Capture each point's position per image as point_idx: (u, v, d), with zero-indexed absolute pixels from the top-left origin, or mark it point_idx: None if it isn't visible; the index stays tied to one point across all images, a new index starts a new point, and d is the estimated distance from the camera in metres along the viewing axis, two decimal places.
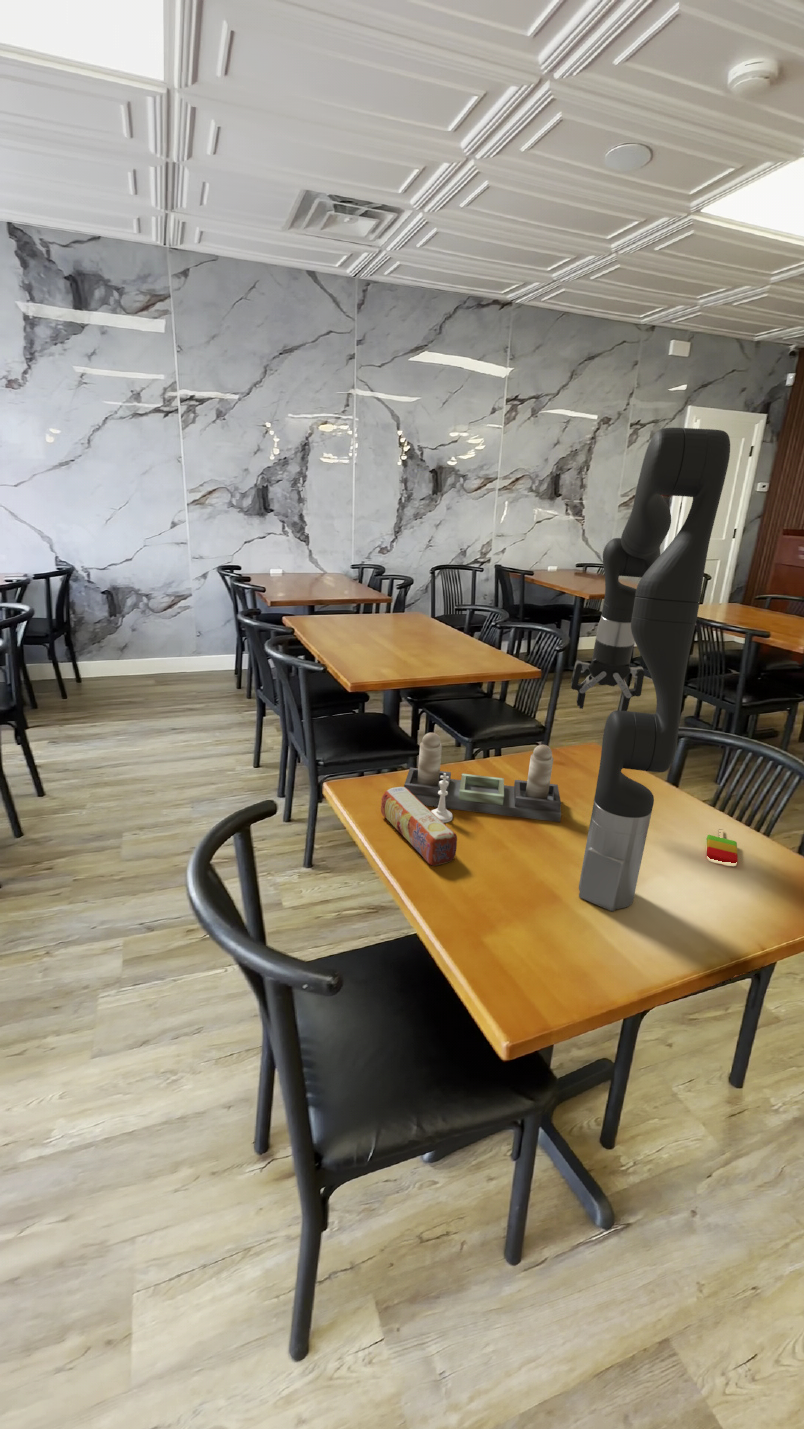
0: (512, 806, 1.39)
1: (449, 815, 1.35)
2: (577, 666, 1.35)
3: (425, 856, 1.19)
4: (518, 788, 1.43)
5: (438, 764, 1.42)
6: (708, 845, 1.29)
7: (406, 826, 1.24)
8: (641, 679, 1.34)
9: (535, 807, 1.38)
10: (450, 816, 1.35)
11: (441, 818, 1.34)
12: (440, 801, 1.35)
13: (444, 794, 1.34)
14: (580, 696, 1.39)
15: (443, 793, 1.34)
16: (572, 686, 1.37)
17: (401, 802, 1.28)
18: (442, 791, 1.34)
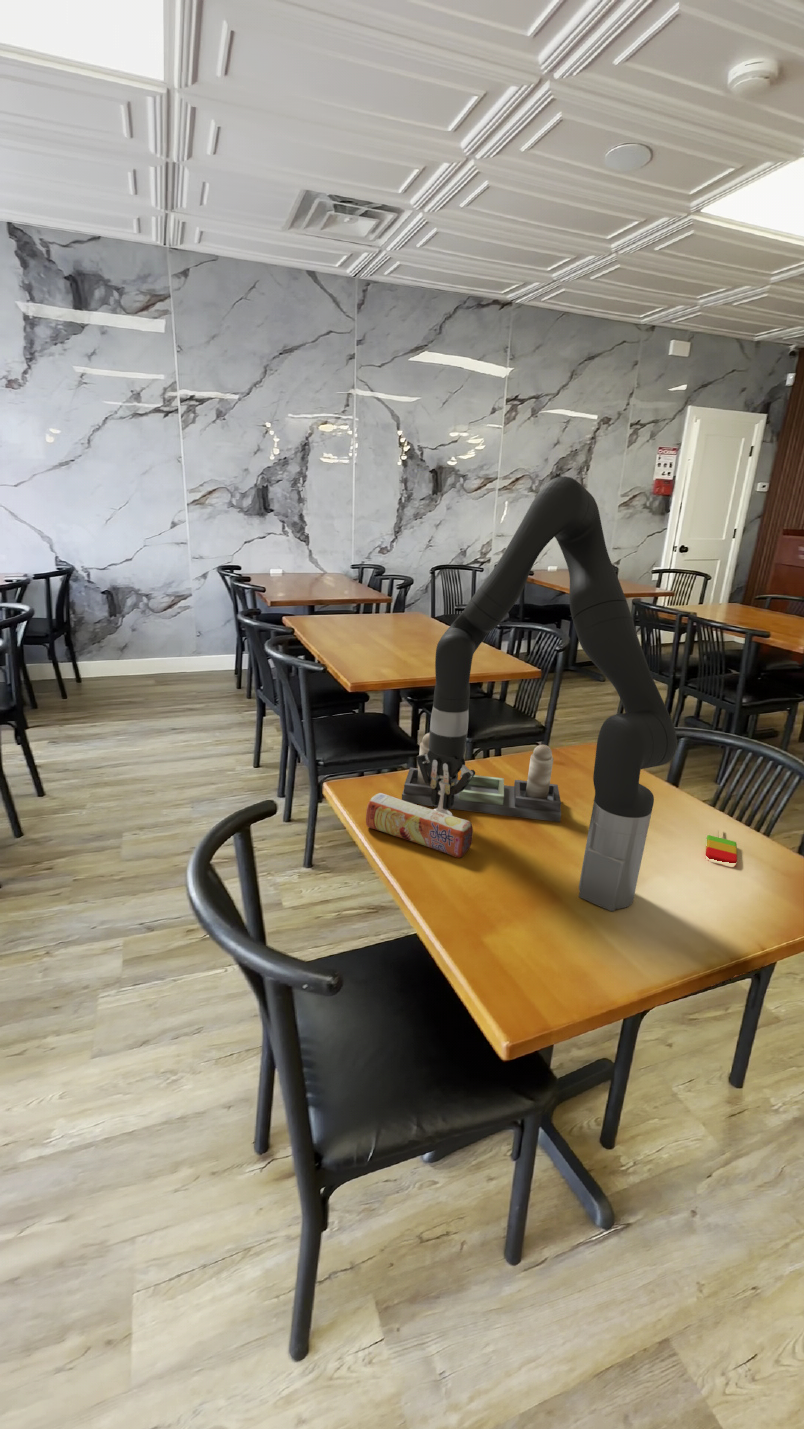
0: (512, 806, 1.39)
1: None
2: None
3: (453, 851, 1.21)
4: (518, 788, 1.43)
5: None
6: (708, 845, 1.29)
7: (416, 829, 1.24)
8: None
9: (535, 807, 1.38)
10: None
11: None
12: (440, 801, 1.35)
13: None
14: None
15: (443, 793, 1.34)
16: None
17: (397, 808, 1.26)
18: (442, 791, 1.34)
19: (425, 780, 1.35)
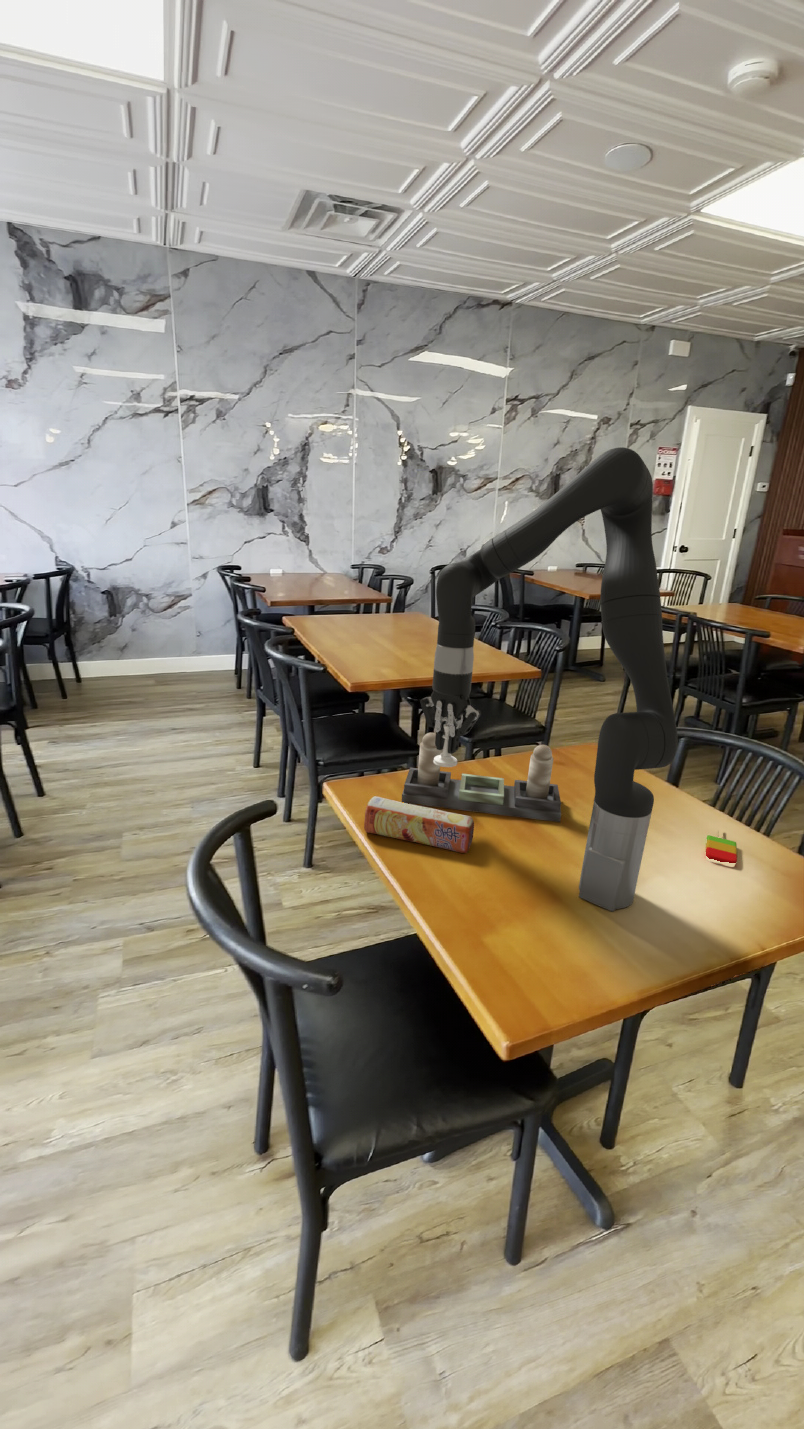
0: (512, 806, 1.39)
1: (454, 760, 1.31)
2: None
3: (459, 847, 1.22)
4: (518, 788, 1.43)
5: None
6: (708, 845, 1.29)
7: (420, 829, 1.24)
8: None
9: (535, 807, 1.38)
10: (455, 761, 1.31)
11: (446, 762, 1.30)
12: (445, 745, 1.30)
13: None
14: None
15: (448, 736, 1.29)
16: None
17: (398, 810, 1.25)
18: (447, 734, 1.30)
19: (429, 724, 1.31)
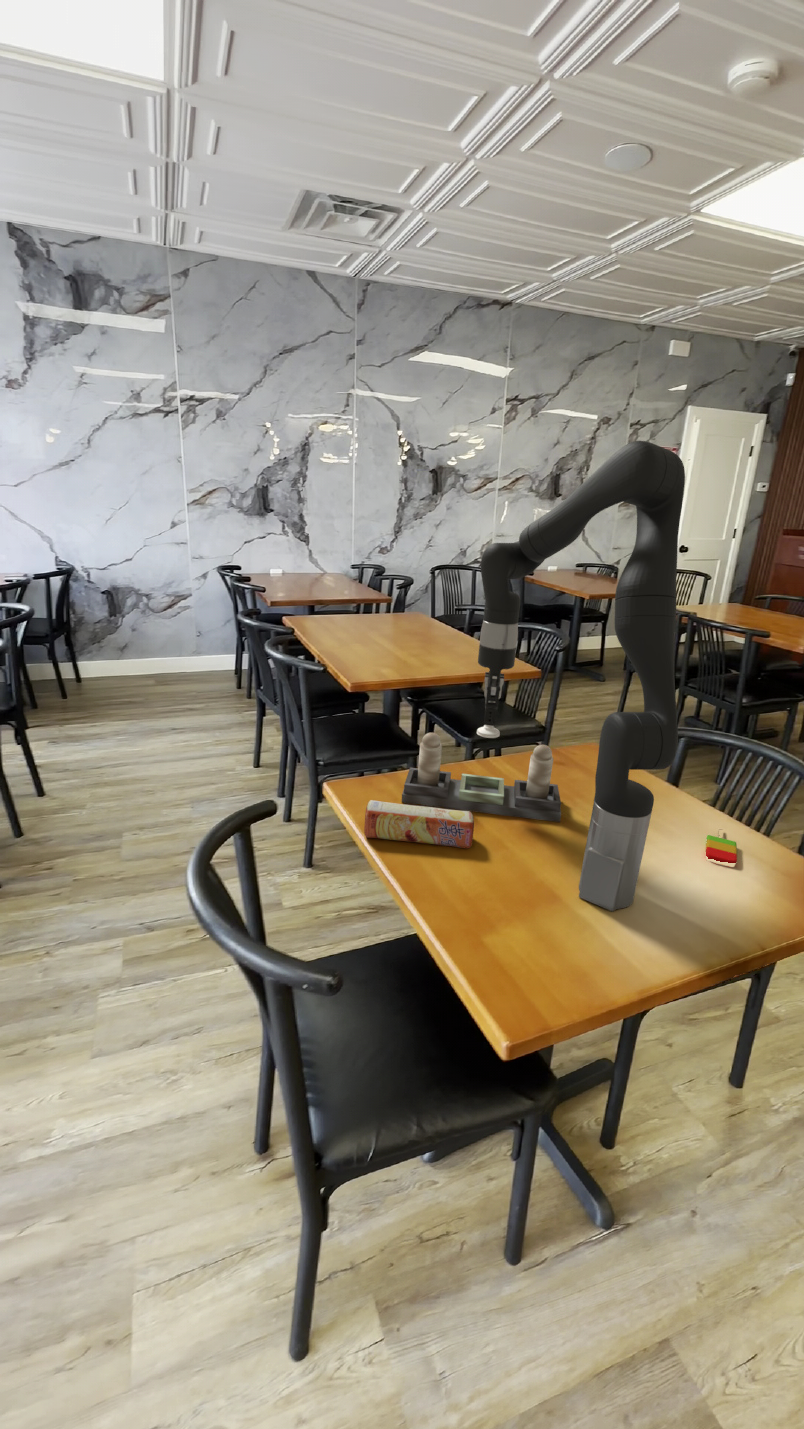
0: (512, 806, 1.39)
1: (490, 732, 1.37)
2: (499, 690, 1.30)
3: (464, 843, 1.24)
4: (518, 788, 1.43)
5: (438, 764, 1.42)
6: (708, 845, 1.29)
7: (423, 829, 1.24)
8: None
9: (535, 807, 1.38)
10: (490, 733, 1.37)
11: (480, 731, 1.38)
12: None
13: None
14: (494, 713, 1.36)
15: None
16: (497, 707, 1.33)
17: (399, 812, 1.25)
18: None
19: None
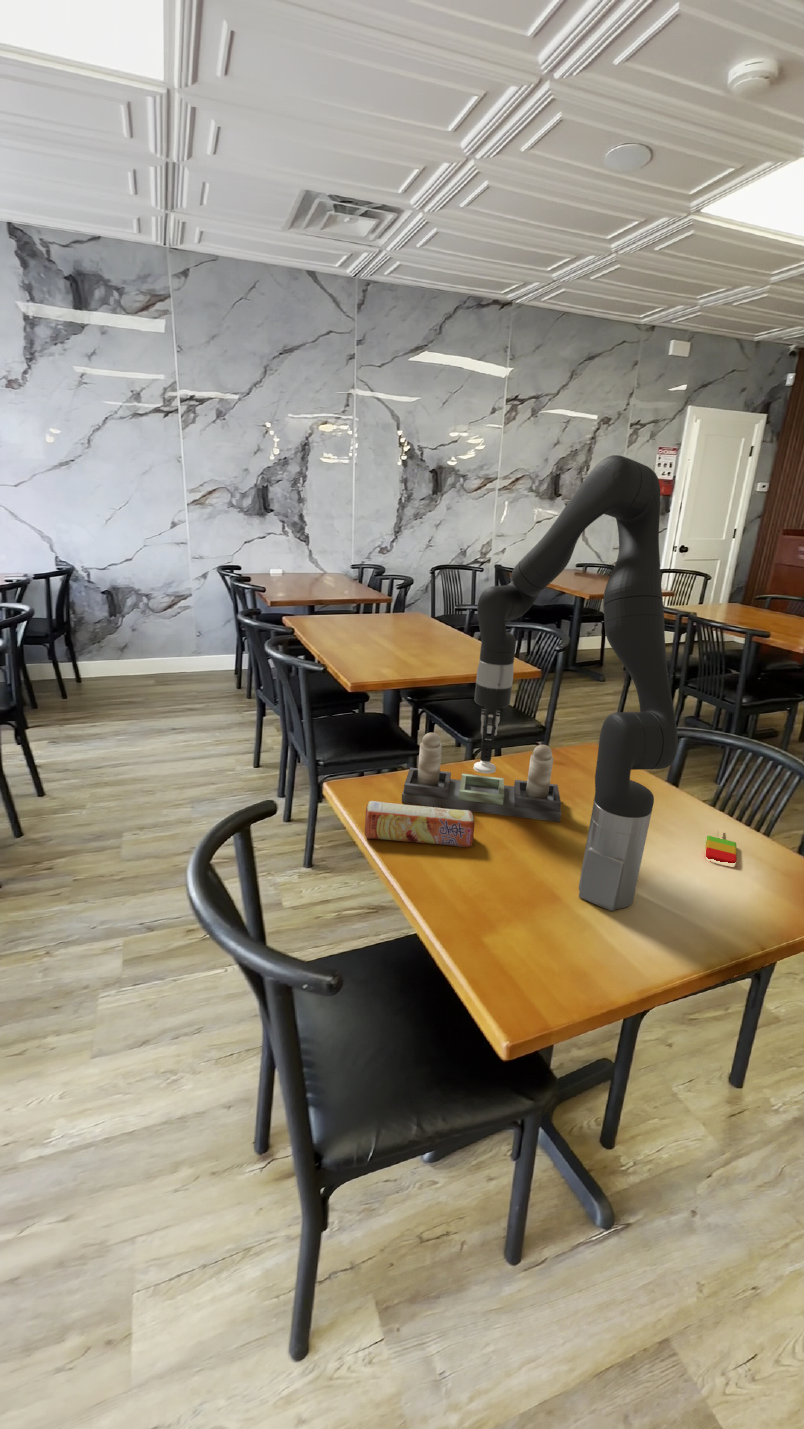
0: (512, 806, 1.39)
1: (486, 768, 1.40)
2: (495, 729, 1.32)
3: (464, 842, 1.24)
4: (518, 788, 1.43)
5: (438, 764, 1.42)
6: (707, 845, 1.29)
7: (424, 829, 1.24)
8: None
9: (535, 807, 1.38)
10: (486, 769, 1.40)
11: (476, 767, 1.41)
12: None
13: None
14: (490, 749, 1.39)
15: None
16: (493, 744, 1.36)
17: (399, 812, 1.24)
18: None
19: None
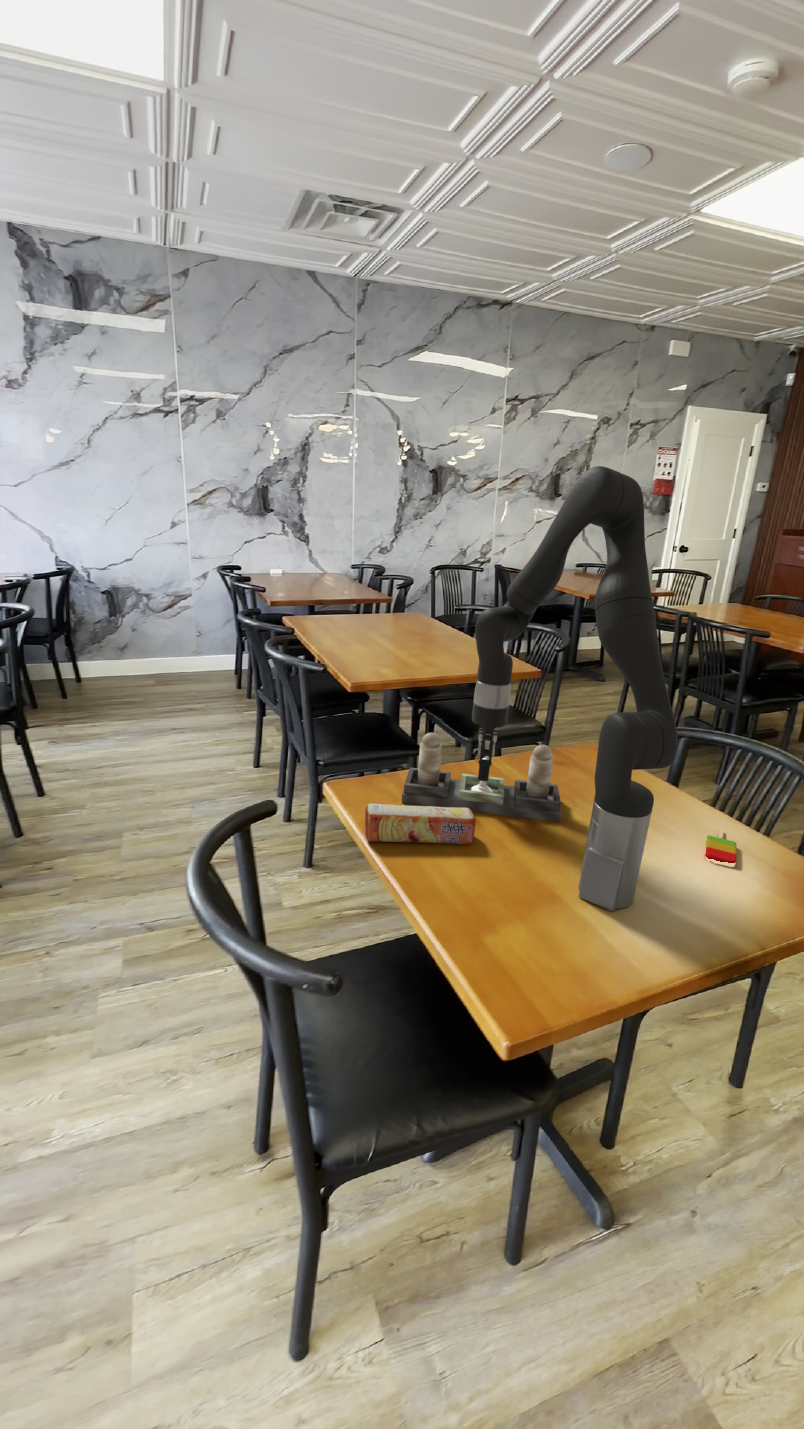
0: (512, 806, 1.39)
1: None
2: (493, 744, 1.33)
3: (466, 839, 1.25)
4: (518, 788, 1.43)
5: (438, 764, 1.42)
6: (707, 845, 1.29)
7: (427, 829, 1.24)
8: None
9: (535, 807, 1.38)
10: None
11: (474, 790, 1.43)
12: None
13: None
14: (487, 769, 1.38)
15: None
16: (490, 763, 1.35)
17: (401, 813, 1.24)
18: None
19: None
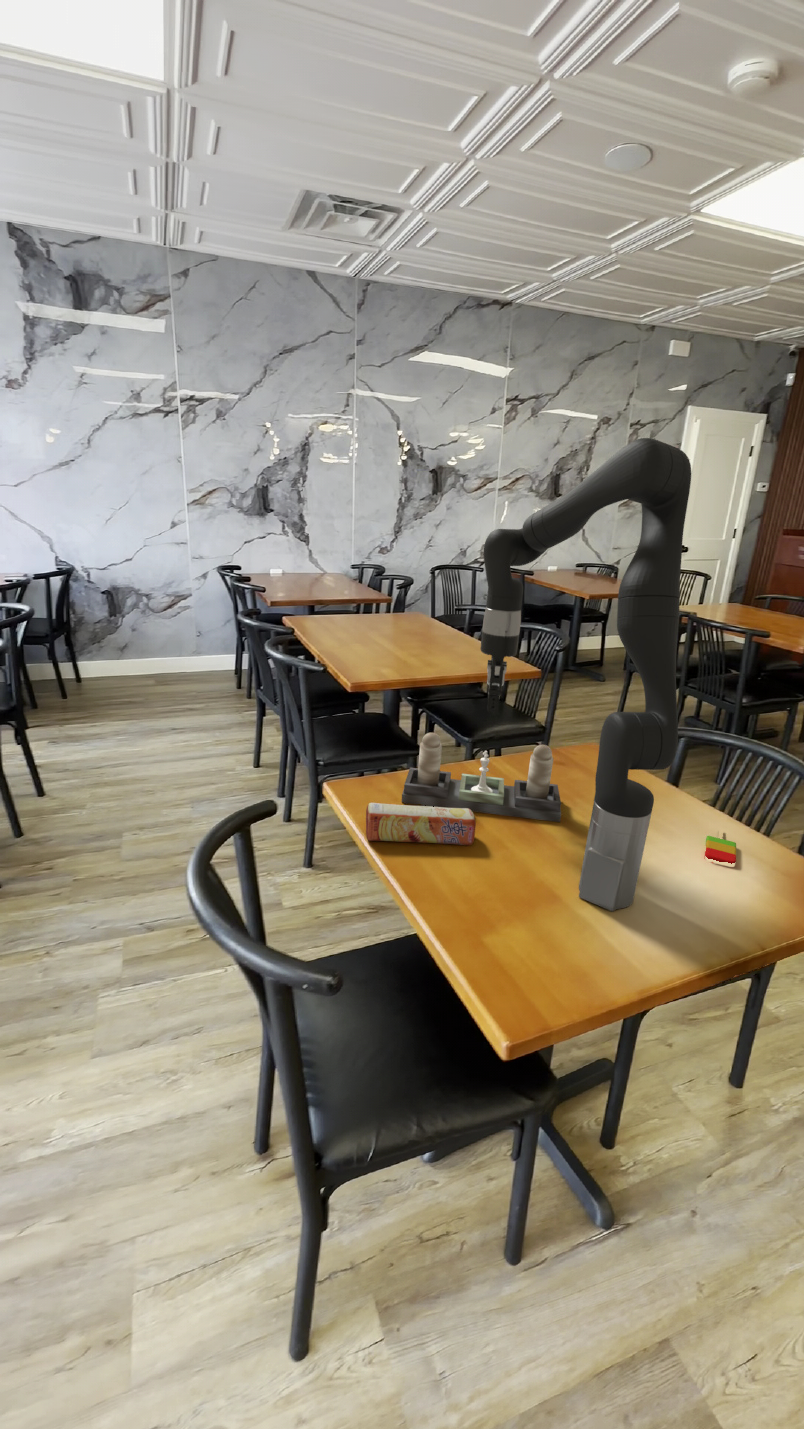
0: (512, 806, 1.39)
1: None
2: (503, 669, 1.28)
3: (466, 840, 1.25)
4: (518, 788, 1.43)
5: (438, 764, 1.42)
6: (707, 845, 1.29)
7: (427, 829, 1.24)
8: None
9: (535, 807, 1.38)
10: None
11: None
12: None
13: (481, 770, 1.41)
14: (497, 700, 1.32)
15: (481, 769, 1.42)
16: (500, 692, 1.29)
17: (401, 813, 1.24)
18: (482, 767, 1.42)
19: None
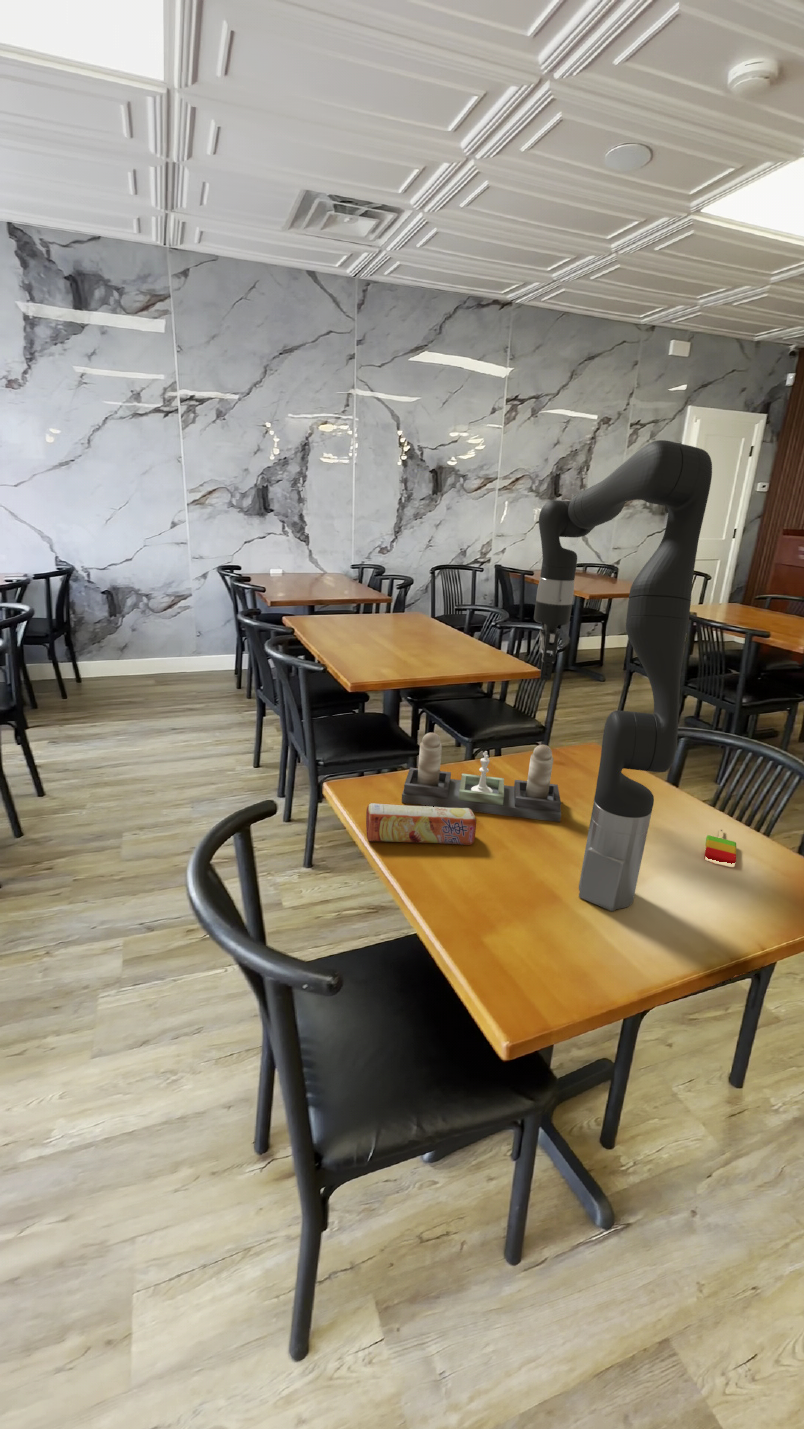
0: (512, 806, 1.39)
1: None
2: (558, 636, 1.33)
3: (467, 840, 1.25)
4: (518, 788, 1.43)
5: (438, 764, 1.42)
6: (707, 845, 1.29)
7: (427, 829, 1.24)
8: None
9: (535, 807, 1.38)
10: None
11: None
12: None
13: (481, 770, 1.41)
14: (550, 667, 1.37)
15: (481, 769, 1.42)
16: (555, 659, 1.34)
17: (402, 813, 1.24)
18: (482, 767, 1.42)
19: None
